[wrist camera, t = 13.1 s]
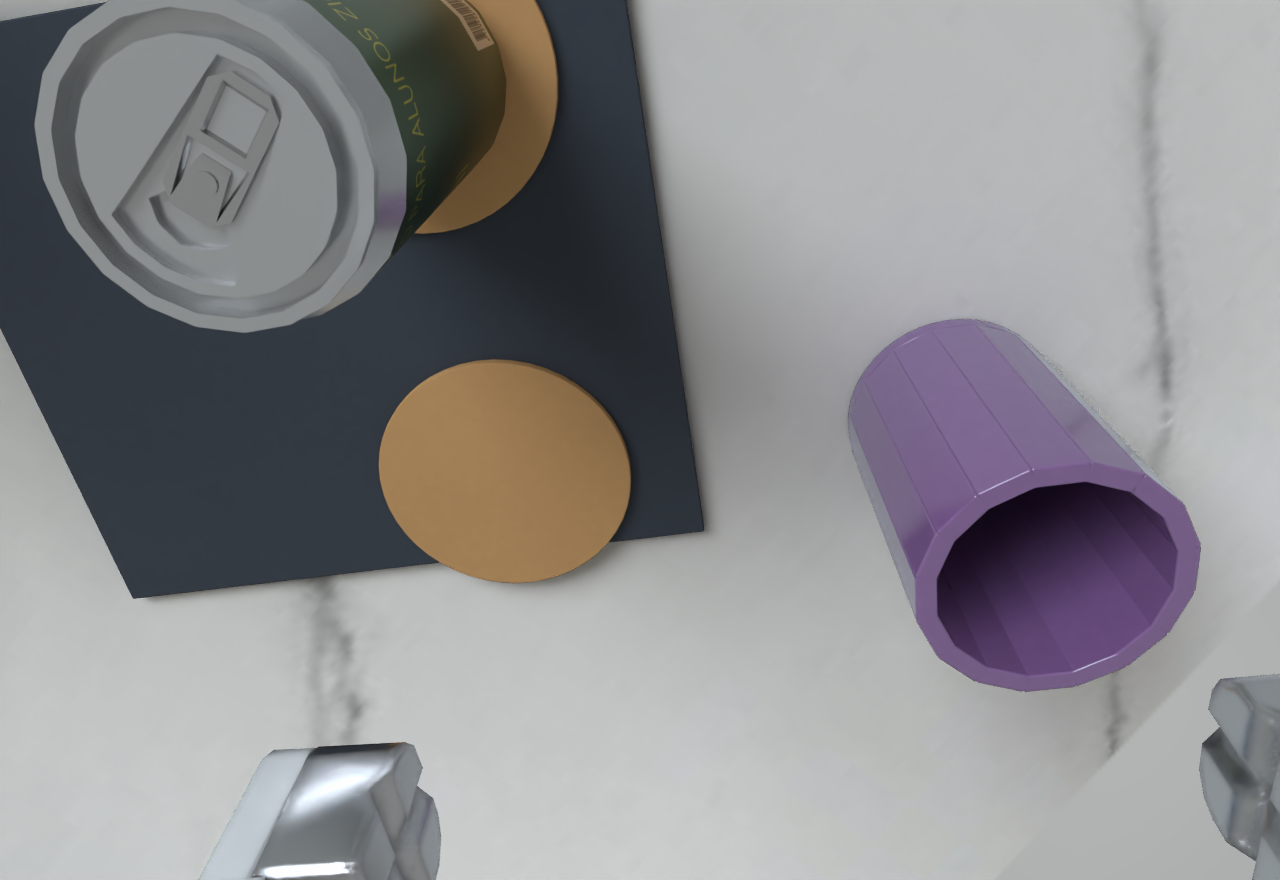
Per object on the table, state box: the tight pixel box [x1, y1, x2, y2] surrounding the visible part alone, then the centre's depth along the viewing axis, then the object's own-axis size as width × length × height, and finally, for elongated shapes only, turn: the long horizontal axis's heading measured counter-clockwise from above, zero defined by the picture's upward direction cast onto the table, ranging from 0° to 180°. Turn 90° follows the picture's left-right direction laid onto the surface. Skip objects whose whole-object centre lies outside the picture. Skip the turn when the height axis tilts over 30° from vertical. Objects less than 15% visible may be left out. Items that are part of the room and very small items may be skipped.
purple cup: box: [848, 319, 1201, 692], centre depth 25 cm, size 6×6×9 cm
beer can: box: [34, 0, 507, 333], centre depth 19 cm, size 5×5×12 cm
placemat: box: [0, 0, 704, 599], centre depth 28 cm, size 20×20×1 cm
